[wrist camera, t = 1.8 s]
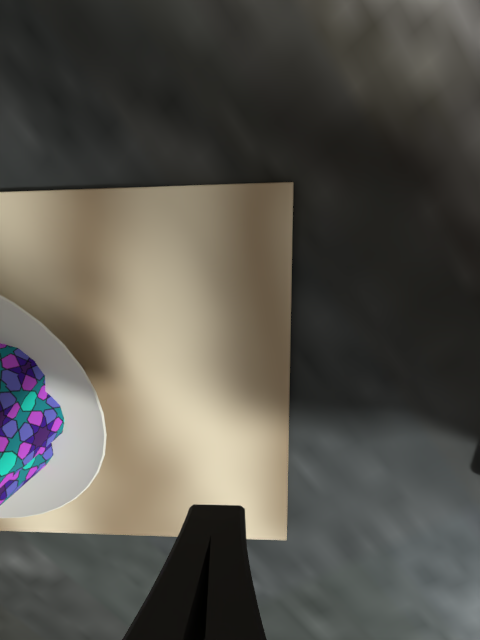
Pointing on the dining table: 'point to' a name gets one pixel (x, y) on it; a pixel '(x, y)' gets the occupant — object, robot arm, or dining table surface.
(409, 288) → the dining table surface
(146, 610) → the robot arm
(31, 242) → the board
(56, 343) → the pudding
